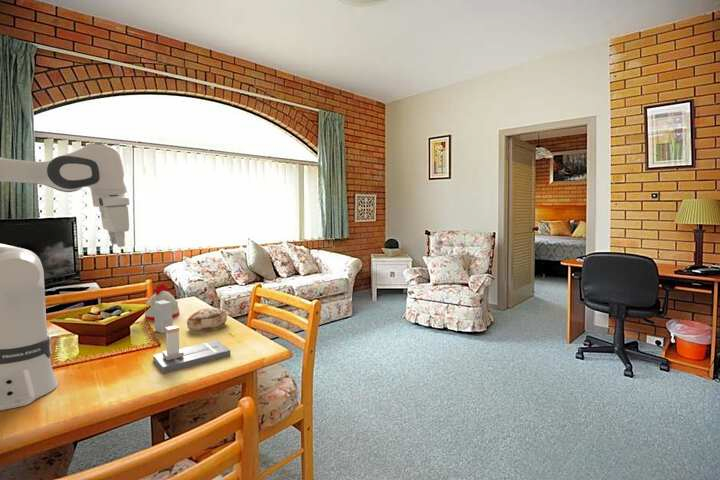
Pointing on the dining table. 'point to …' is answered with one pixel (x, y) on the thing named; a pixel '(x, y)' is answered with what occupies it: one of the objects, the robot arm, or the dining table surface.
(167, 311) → the skincare box
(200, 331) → the trinket box
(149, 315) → the kitchen timer
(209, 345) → the fader console
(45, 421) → the dining table surface
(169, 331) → the fader knob
